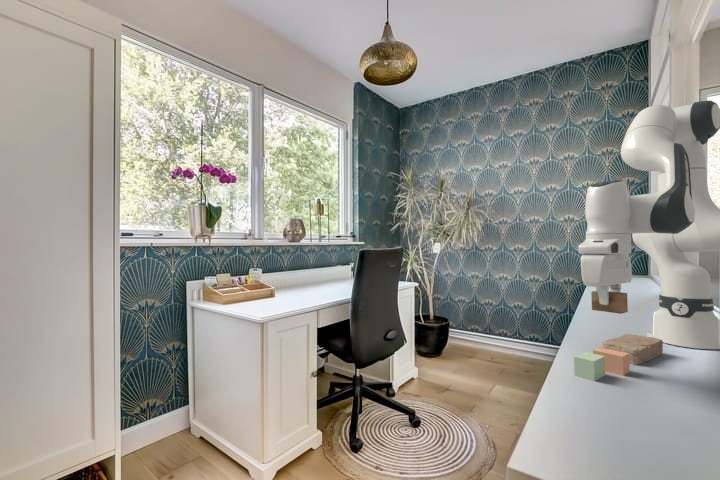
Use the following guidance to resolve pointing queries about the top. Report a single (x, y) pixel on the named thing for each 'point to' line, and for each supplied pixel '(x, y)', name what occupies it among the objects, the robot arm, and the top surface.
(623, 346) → the brick
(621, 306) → the walnut block
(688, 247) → the robot arm
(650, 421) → the top surface
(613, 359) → the terracotta block
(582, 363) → the sage block
